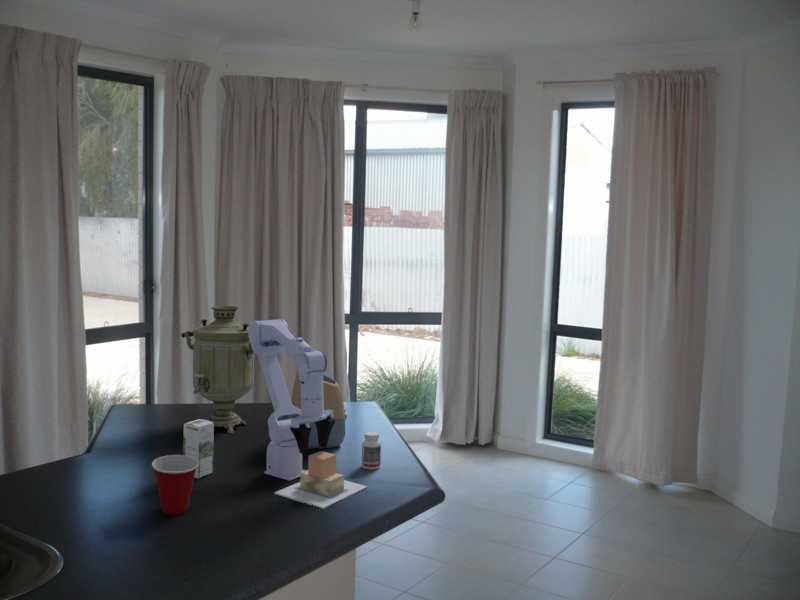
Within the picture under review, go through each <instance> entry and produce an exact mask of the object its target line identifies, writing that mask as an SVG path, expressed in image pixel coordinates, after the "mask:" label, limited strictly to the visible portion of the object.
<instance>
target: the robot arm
mask: <svg viewBox="0 0 800 600" xmlns="http://www.w3.org/2000/svg"><path fill="white" fill-rule="evenodd" d="M248 327H249V333H248V336H249V340H250V343H251V346H252V349H253V352H254V355H257V357H258V360H259V364H260V367H261V370H262V374H263V378H264V381H265V384H266V388H267V390H268V394H269V397H270V400H271V404H272V407H273V412H272V413H271V414H270V415H269V417H268V420H267V425H268V435H269V438H270V440H271V441H270V442H269V443H268V446H267V447H266V471H265V470H264V474H265V475H268V476H272V477H276V478H279V479H283V480H286V481H290V482H291V481H292V480H295V479H297V478H300V473H301V472H304V471H306V470H307V469H303V455H307V454H308V453H309V449H308V443H309V436H310V432H311V429H312V428H309V423H313V422H315V424H316V428H317V433H318V443H319V447H324V448H323V449H327V448H326V447H327V444H328V439H329V435H330V432H331V430H332V427H333V426H334V424H335V420H334V419H331V418H333V417H334V414H333V410H324V395H323V372H327V368H328V358H327V355H326V353H325V352H324V350H322V349H314V348H313V347H312V346H311V345H310V344H308V343H307V342H306V341H305V340H304V338H303V337H295V336H294V335H293V334H292V333H291V331H290V330H289V326H288V322H287V321H286V320H285V319H284V318H279V319H267V320H252V321H250V324H249V326H248ZM284 348H285V354H286V355H287V356H288V358H289V359H291V360H292V361H293V363H295V367H296V371H297V373H298V375H299V380H300V381H301V410H300V409H299V408H297V407H295V406H293V405H292V402H291V400H292V398H291V396H290V394H289V389H288V387H287V384H286V383H287V382H286V380H285V377H284V374H283V371H282V367H281V364H280V361H279V359H278V354H279V353H280V352H282V351H283V350H284Z"/></svg>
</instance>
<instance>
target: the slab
mask: <svg viewBox="0 0 800 600" xmlns="http://www.w3.org/2000/svg"><path fill="white" fill-rule="evenodd" d="M305 470H306V471H304V472H301V473H300V477H299V478H300V479H299V482H300V488H303V489H306V490H309V491H313V492H316V493H320V494H323V495H326V496H330V497H331V496H333V495H335V494H337V493H339V492H341V491H344V480H345V474H340V473H336V474H334V475H331V476H329V477H326V478H324V479H322V478H318V477H315V476H311V475H308V469H305Z"/></svg>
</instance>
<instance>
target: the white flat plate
mask: <svg viewBox="0 0 800 600" xmlns="http://www.w3.org/2000/svg"><path fill="white" fill-rule="evenodd" d="M365 488H366V489H368V486H367V485H364V484H361V483H356V482H352V481H348V480H346V479H344V491H341V492H339V493H337V494H335V495H333V496H331V497H330V496H326V495H323V494H320V493H316V492H313V491H309V490H306V489H303V488H300V481H299V482H296V483H294V484H292V485H289V486H287V487H284V488H282V489H278V490H277V491H275V492H274V495H276V496H280V497H283V498H286V499H290V500H292V501H295V502H300V503H303V504H305V503H306V505H309V506H312V505H313V506H312V507H315V506H316V507H315V508H318V507H319V509H322V510H324V509H326V508H328V507H330V506H332V504H333V505H334V503H335V504H336V502H337V503H338V501H339V502H341V501H343V500H345V499H347V498H349V497H351V496H353V494H354V495H355V493H356V494H357V492H358V493H359V491H360V492H362V491H364V490H366V489H365ZM363 489H364V490H363ZM361 490H362V491H361ZM340 500H341V501H340Z"/></svg>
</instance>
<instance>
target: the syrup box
mask: <svg viewBox="0 0 800 600" xmlns="http://www.w3.org/2000/svg"><path fill="white" fill-rule="evenodd" d="M207 420H208V419H201V418H200V419H199V418H198V419H195V420H191V421H188V422H185V423H183V442H182V443H183V445H182V446H183V447H182V448H183V450H182V452H183V454H182V455H186V456H190V457H194V458H195V459H197V460H198V461H199V465H198V467H197V468H196V471H195V475H194V479H201V478H204V477H206V476H209V475H212V474H213V473H214V448H215V447H214V446H215V445H214V442H215V441H214V440H215V439H214V436H215V435H214V432H215V427H214V423H213V422H210V421H207Z"/></svg>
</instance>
